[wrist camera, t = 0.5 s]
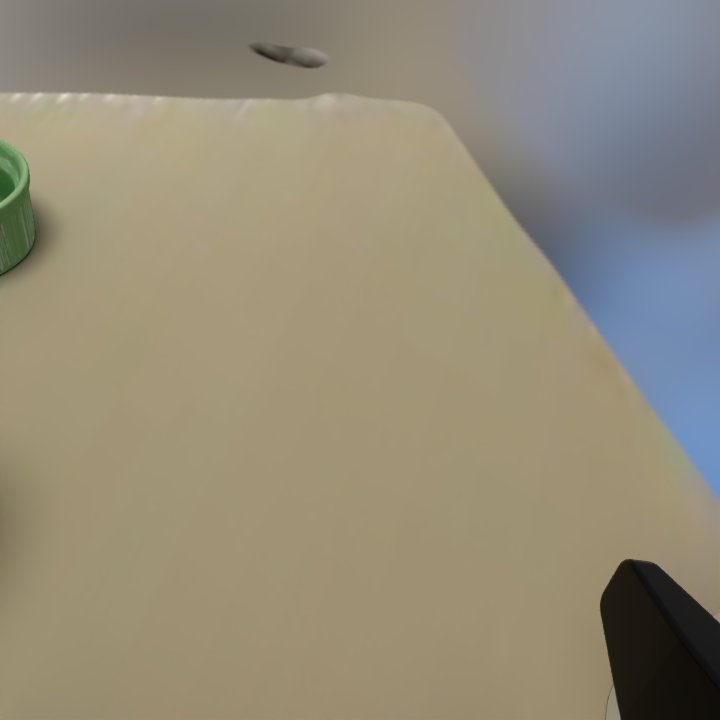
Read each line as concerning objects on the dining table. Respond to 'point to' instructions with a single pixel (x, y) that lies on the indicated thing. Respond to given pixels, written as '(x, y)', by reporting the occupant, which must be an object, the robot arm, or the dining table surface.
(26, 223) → the ramekin
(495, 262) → the dining table surface
